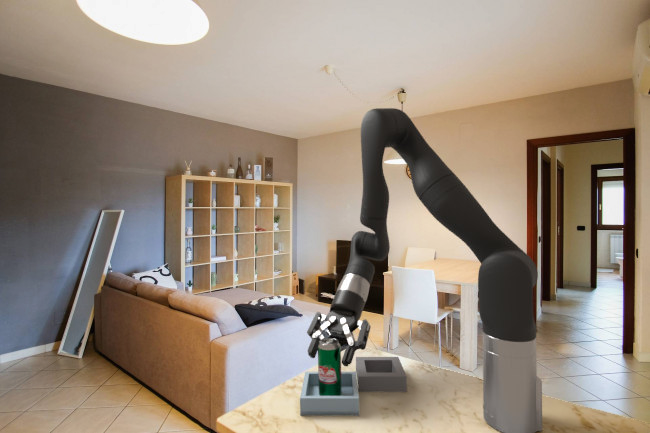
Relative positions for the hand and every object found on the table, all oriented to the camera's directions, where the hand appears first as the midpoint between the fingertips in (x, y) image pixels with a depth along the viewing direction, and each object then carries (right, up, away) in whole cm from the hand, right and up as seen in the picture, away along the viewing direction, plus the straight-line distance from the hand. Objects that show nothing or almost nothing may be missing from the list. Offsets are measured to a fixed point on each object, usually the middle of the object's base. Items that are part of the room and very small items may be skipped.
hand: (327, 360), depth 76 cm
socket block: (+13, -9, +10) cm, 18 cm away
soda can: (+1, -8, +1) cm, 9 cm away
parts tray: (+1, -9, +1) cm, 9 cm away
